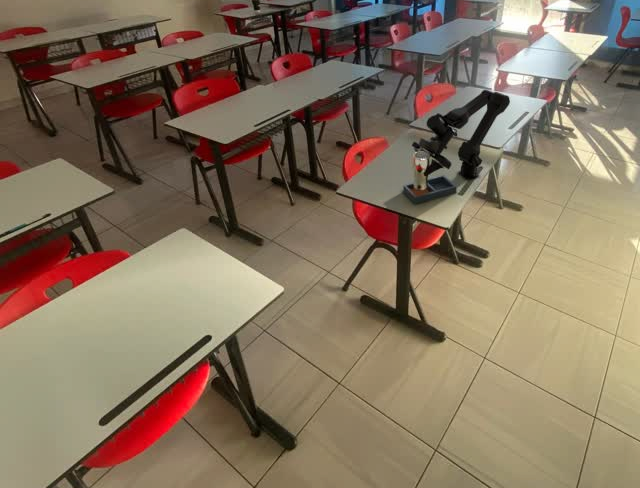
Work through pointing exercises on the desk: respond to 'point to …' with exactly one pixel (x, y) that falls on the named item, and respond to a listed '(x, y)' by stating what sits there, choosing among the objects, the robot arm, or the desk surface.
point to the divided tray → (430, 189)
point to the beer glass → (420, 170)
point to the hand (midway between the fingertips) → (418, 172)
